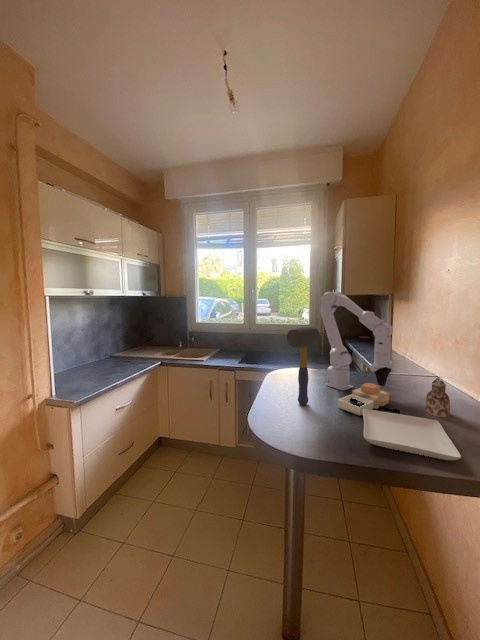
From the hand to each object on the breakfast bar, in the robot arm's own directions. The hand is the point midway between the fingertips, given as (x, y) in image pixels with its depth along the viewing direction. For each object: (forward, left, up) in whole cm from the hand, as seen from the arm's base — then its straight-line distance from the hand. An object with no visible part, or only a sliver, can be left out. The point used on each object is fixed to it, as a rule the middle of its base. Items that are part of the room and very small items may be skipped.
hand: (381, 385), depth 105 cm
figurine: (+19, 0, -5) cm, 20 cm away
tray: (0, -19, -5) cm, 20 cm away
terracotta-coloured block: (0, -9, -1) cm, 9 cm away
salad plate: (+19, -27, -5) cm, 33 cm away
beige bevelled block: (0, -9, -5) cm, 10 cm away
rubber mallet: (-14, -32, -5) cm, 35 cm away
